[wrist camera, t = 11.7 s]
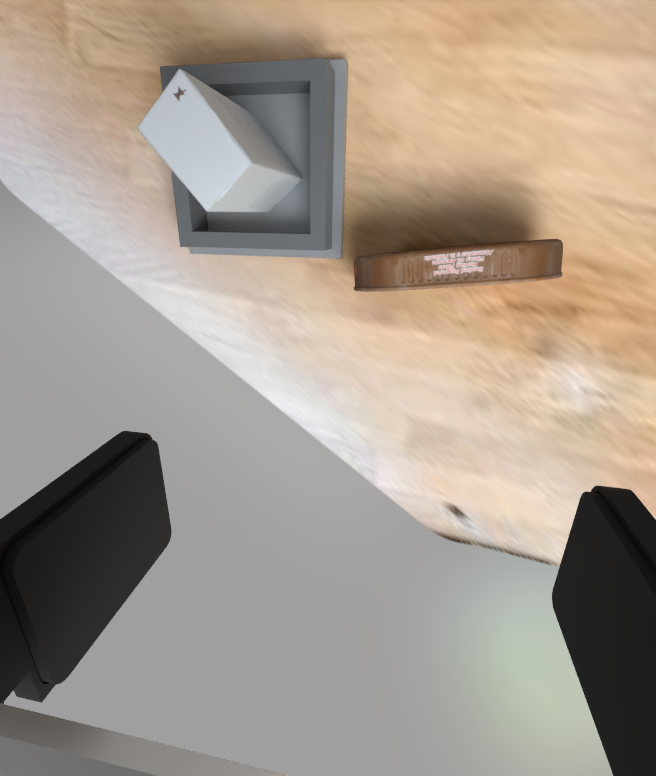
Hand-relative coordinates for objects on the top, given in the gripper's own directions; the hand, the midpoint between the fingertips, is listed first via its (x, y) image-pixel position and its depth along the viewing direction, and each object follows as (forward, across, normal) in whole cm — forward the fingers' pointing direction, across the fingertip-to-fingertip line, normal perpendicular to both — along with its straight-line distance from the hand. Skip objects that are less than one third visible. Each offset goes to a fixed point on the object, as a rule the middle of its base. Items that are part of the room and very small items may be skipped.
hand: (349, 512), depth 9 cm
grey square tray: (+30, +12, -10) cm, 34 cm away
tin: (+31, -4, -3) cm, 31 cm away
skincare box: (+29, +12, -10) cm, 33 cm away
